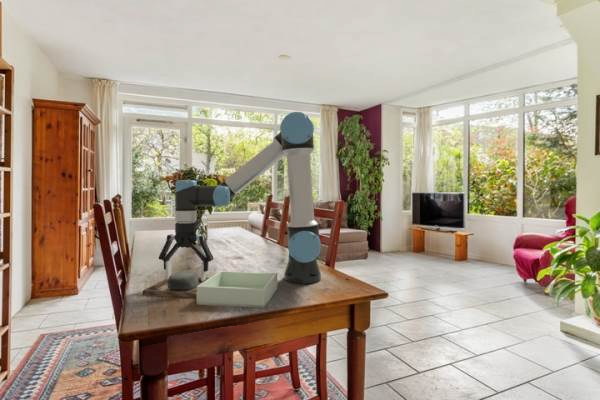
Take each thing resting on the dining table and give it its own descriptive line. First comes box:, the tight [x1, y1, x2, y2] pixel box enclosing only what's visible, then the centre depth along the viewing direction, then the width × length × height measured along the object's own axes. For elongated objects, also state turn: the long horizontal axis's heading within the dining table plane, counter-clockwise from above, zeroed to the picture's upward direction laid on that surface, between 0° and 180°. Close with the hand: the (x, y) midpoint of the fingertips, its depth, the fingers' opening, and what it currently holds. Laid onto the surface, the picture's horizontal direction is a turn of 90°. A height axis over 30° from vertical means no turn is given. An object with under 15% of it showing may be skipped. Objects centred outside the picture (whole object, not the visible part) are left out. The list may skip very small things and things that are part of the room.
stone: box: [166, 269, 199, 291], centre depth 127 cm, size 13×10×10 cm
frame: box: [142, 276, 210, 299], centre depth 128 cm, size 22×20×2 cm
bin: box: [196, 270, 278, 309], centre depth 119 cm, size 22×21×6 cm
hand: (186, 279), depth 127 cm, fingers open, 13 cm apart
